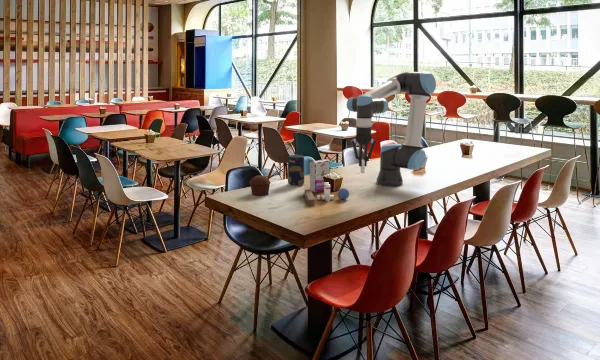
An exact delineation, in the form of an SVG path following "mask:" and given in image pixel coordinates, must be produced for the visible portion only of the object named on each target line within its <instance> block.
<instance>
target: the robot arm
mask: <svg viewBox="0 0 600 360" xmlns="http://www.w3.org/2000/svg"><path fill="white" fill-rule="evenodd" d="M436 87H437V81H436V78H435V75H434V74H433V73H432V72H429V71H405V72H401V73H398V74H397V75H393V76H391V77H390V78H388V79H387V81H386V82H384V83H382V84H380V85H378V86H377V87H374V88H372V89H371V90H369V91H367V92H364V93H362V94H359V95H358V96H357V97H356V96H355V97H354V96H351V97H349V98H348V99H347V100H346V108H347V110H348V111H350V112H352V113H353V112H354V113H356V122H355V123H356V128H355V136H354V138H353V139H351V140H350V143H351V144H352V148H353V153H354V156H355V160H358V167H360V174H365V167H367V164H368V160H371V158H372V154H373V151H374V146H375V144H376V143H377V140H375V139H373V137H372V122H373V120H372V119H373V118H372V116H373V115H375V114H384V113H386V112H387V111H388V109H389V103H388V101H387V100H386V98H388V97H390V96H392V95H398V94H400V93H401V94H402V93H406V94H407V93H408V97H409V98H410V102H409V103H410V104H409V110H408V117H407V125H406V131H405V139H404V140H405V141H404V142H403V143H393V144H392V143H391V144H389V143H388V144H383V145H381V148H380V152H379V153H380V155H379V156H380V157H379V158H380V159H379V160H380V161H379V172H378V175H377V177H376V184H377V183H378V184H377V185H379V184H381V185H380V186H384V185H399V186H402V185H403V181H404V180H403V175H402V172H401V168H402V169H406V170H410V171H417V170H418V171H419V170H421V169H422V167H423V166H424V164H425V162H426V159H427V154H426V151H425V150H423V148H424V146H423V145H422V136H423V135H422V134H423V130H424V123H425V121H424V120H425V113H426V107H427V101H428V100H429V99H430V98H431V95H432V94H433V93H434V92H435V91H436ZM356 143H357V144H358V149H357V145H356ZM369 144H370V146H368V145H369ZM368 147H369V149H368ZM401 184H402V185H401Z"/></svg>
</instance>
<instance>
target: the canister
mask: <svg viewBox="0 0 600 360" xmlns="http://www.w3.org/2000/svg"><path fill="white" fill-rule="evenodd" d="M287 183H288V185H290V186H296V187H297V186H303V185H304V184H305V156H304V155H302V154H298V153H295V154H291V155H289V156H287Z"/></svg>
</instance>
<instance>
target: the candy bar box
mask: <svg viewBox="0 0 600 360" xmlns="http://www.w3.org/2000/svg"><path fill="white" fill-rule="evenodd" d="M326 174H330V175H331V160H330V159H319V160H314V161H309V189H310V190H311V192H312V193H313V192H314V193H317V192H324V179H323V176H324V175H326Z"/></svg>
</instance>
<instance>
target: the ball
mask: <svg viewBox="0 0 600 360" xmlns="http://www.w3.org/2000/svg"><path fill="white" fill-rule="evenodd" d="M337 197H338V198H339V199H340V200H343V201H344V200H347V199H348V198H349V197H350V192H349V189H348V188H345V187H342V188H339V189H338V190H337Z"/></svg>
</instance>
